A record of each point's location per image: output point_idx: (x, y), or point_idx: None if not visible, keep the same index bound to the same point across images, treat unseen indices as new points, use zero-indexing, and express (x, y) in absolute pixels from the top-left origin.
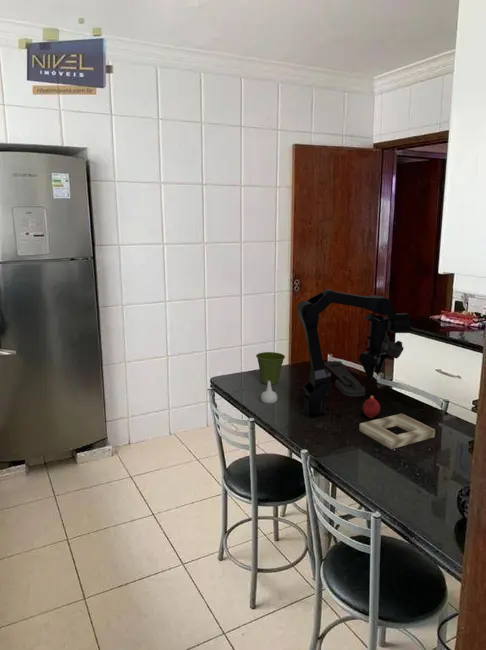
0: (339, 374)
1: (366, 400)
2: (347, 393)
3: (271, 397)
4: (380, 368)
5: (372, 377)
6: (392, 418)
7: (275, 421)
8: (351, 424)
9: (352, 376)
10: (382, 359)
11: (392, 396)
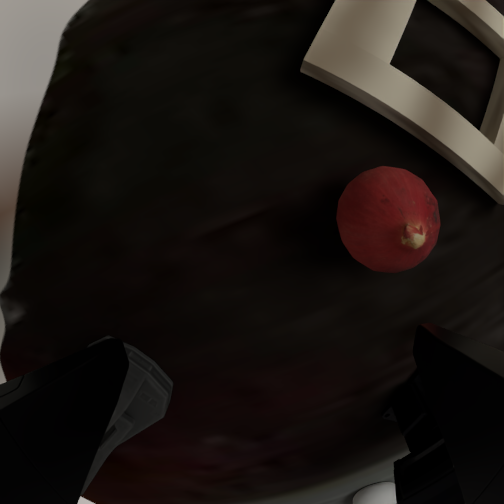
0: (98, 456)
1: (417, 259)
2: (170, 393)
3: (394, 495)
4: (89, 369)
5: (437, 335)
6: (402, 85)
7: None
8: (465, 252)
9: None
10: (3, 438)
11: (45, 231)
